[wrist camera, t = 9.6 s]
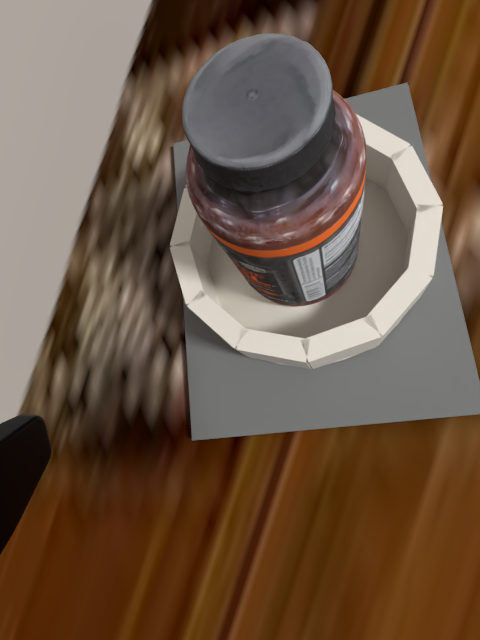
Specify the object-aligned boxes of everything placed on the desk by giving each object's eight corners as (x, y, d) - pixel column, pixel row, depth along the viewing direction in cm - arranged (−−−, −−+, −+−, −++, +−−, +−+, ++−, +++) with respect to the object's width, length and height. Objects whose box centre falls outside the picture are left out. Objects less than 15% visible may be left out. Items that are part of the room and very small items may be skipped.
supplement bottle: (221, 260, 22) (103, 118, 11) (297, 181, 22) (252, -39, 11) (300, 334, 20) (248, 248, 9) (384, 248, 20) (429, 61, 9)
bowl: (477, 232, 20) (503, 195, 17) (317, 417, 20) (311, 418, 17) (291, 120, 24) (283, 73, 21) (157, 275, 24) (127, 252, 20)
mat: (484, 413, 18) (487, 413, 18) (194, 440, 22) (191, 440, 21) (406, 87, 23) (407, 82, 23) (175, 147, 26) (173, 143, 26)
